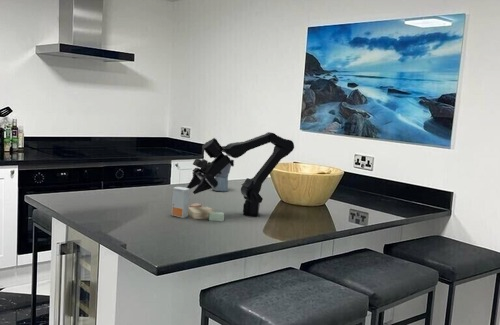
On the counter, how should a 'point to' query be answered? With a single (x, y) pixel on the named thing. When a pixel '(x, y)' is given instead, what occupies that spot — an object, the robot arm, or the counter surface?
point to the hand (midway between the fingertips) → (190, 191)
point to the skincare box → (180, 202)
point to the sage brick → (216, 216)
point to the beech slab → (200, 212)
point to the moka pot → (222, 180)
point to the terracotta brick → (196, 205)
